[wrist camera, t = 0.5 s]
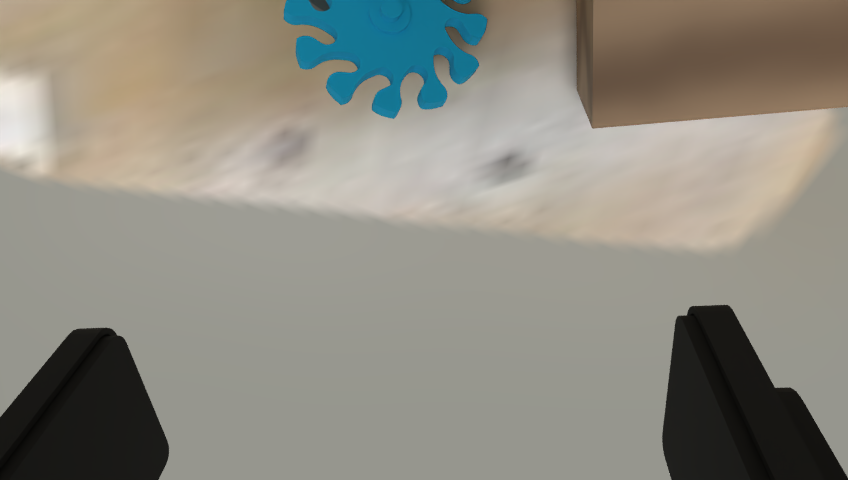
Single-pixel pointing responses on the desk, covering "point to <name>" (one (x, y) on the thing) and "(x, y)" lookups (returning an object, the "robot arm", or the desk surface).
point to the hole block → (709, 58)
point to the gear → (386, 45)
